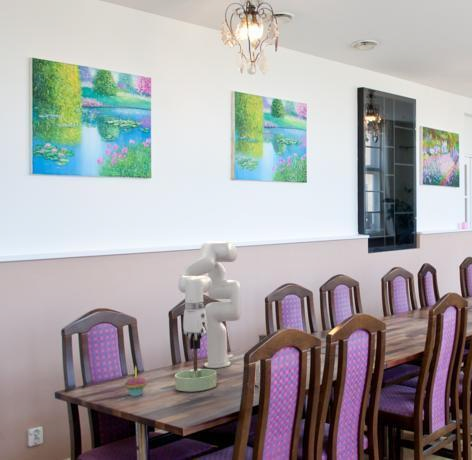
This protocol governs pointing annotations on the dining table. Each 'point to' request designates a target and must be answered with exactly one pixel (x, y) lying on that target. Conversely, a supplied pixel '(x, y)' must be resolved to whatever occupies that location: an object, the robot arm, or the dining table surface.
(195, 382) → the bowl
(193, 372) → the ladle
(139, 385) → the cupcake
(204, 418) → the dining table surface
